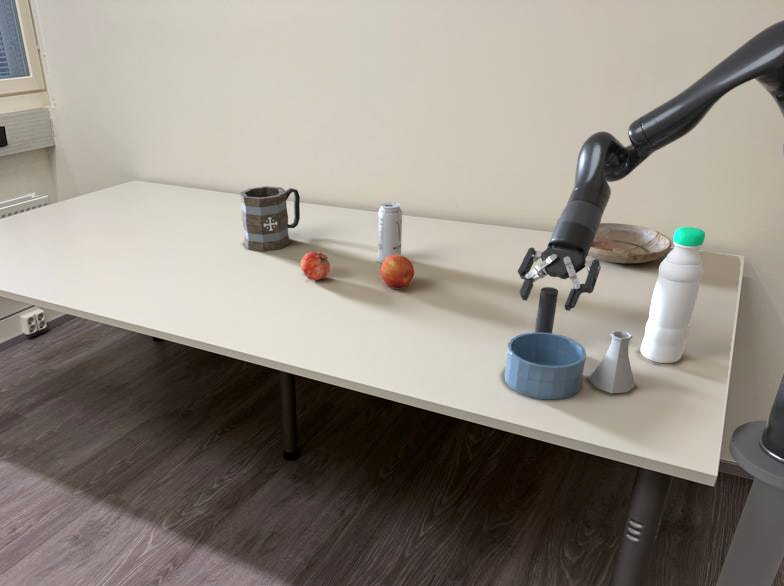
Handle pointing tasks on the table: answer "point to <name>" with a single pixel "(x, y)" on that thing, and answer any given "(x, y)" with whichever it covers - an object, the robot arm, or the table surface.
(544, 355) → the processor bowl
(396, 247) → the energy drink can
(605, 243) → the ceramic bowl
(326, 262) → the pomegranate
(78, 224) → the table surface
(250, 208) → the mug
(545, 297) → the chopping blade
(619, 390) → the flask
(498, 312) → the table surface
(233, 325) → the table surface
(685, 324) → the water bottle
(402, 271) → the apple
